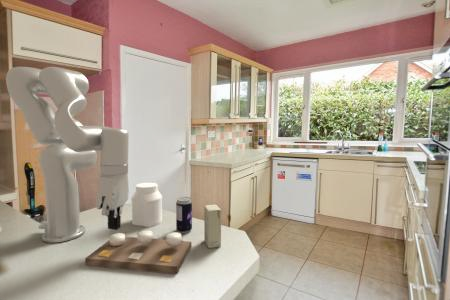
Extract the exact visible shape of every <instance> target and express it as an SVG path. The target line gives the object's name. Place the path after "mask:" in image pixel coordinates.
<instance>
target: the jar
mask: <svg viewBox="0 0 450 300" xmlns="http://www.w3.org/2000/svg"><path fill="white" fill-rule="evenodd" d="M158 187H159V185H158V183H156V182H141V183H140V182H139V183H137V184H136V185H135V192H134V193H133V195H132V196H131V218H132V219H131V224H132V225H133V226H139V227H144V228H150V227H155V226H157V225H159V224H161V223H162V221H163V201H162V200H163V195H162V194H161V192H160V191H159V189H158Z"/></svg>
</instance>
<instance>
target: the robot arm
mask: <svg viewBox="0 0 450 300" xmlns="http://www.w3.org/2000/svg"><path fill="white" fill-rule="evenodd" d="M5 77H6V78H5V82H6V83H5V84H6V88H7V92H8V94H9V96H10V98H11V99H12V101H13V103H14V104H15V105H16V106H17V107H18V109H19V110H20V112H21V114H22V115H23V117H24V120H25V122H26V123H27V125H28V128H29V130H30V132H31V134H32V136H33V138H34V139H35V141H36V142H37V144H39V145H45V147H44V148H42V149H41V151H40V153H39V155H38V157H39V158H38V160H39V164H40V168H41V170H42V171H41V172H42V175H43V176H42V177H43V181H44V182H43V183H44V195H45V197H44V198H45V211H46V220H43V221H42V222H41V223H40V224H39V225H38V229H40V230H44V233H43V234H41V240H42V241H43V242H44V243H63V242H67V241H72V240H74V239H76V238H78V237H81V236H82V235H83V234H85V232H86V227H85V226H84V225H82V224H81V219H80V217H81V216H80V214H81V213H80V196H79V195H80V193H79V183H78V180H77V178H76V177H75V176H74V175H73V173H72V172H73V171H77V170H83V169H84V170H85V169H89V168H92V167H93V166H95V164H96V163H97V159H98V155H97V152H98V151H100V176H99V179H98V182H97V190H96V209H97V210H101V215H102V216H106V217H107V229H108V230H113V231H115V230H116V231H118V230H119V229H120V228H121V225H122V224H121V219H122V218H121V217H122V216H121V215H122V212H123V207H124V206H125V204H126V203H127V202H128V200H129V193H130V192H129V187H130V186H129V178H128V177H129V176H128V174H129V132H128V130H127V129H126V128H117V127H110V126H104V125H83V124H82V123H81V122H80V121H79V120H77V119H75V118H73V117H74V116H77V115H78V114H80V113H82V112H83V111H85V109H86V107H87V104H88V101H87V98H86V96H85V95H87V93H88V91H89V88H90V84H89V83H90V82H89V79H87V77H86V75H85V74H83V73H81V71H80V72H79V71H76V70H71V69H67V68H63V67H57V66H47V67H44V68H42V69H40V68H37V67H29V66H15V67H11V68H10V69H9V70H8V71H7V73H6V76H5ZM39 94H40V95H48V97H49V98H50V99H51V101H52V102H53V103H54V105H55V107H56V109H57V110H56V111H54V110H53V108H52V106H51V105H50V104H49V103H48V102H47V101H46V100H45V99H44V98H43V97H41V96H39Z"/></svg>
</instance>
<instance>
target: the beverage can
mask: <svg viewBox="0 0 450 300" xmlns="http://www.w3.org/2000/svg"><path fill="white" fill-rule="evenodd" d="M175 204H176V205H175V210H176V211H175V214H176V215H175V217H176V219H175V220H176V221H175V229H176V231H177V232H178V233H180V234H186V233H189V232H190V231H191V230H192V229H193V201H192V198H191V197H188V196H181V197H178V198H177V200H176V202H175Z"/></svg>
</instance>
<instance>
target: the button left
mask: <svg viewBox="0 0 450 300" xmlns="http://www.w3.org/2000/svg"><path fill="white" fill-rule="evenodd" d="M125 237H126V234H125V233H122V232H117V233H113V234H111V235H109V237H108V238H109V239H108V241H109V242H110V245H111V246H119V245H122V244H124V243H125Z"/></svg>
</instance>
